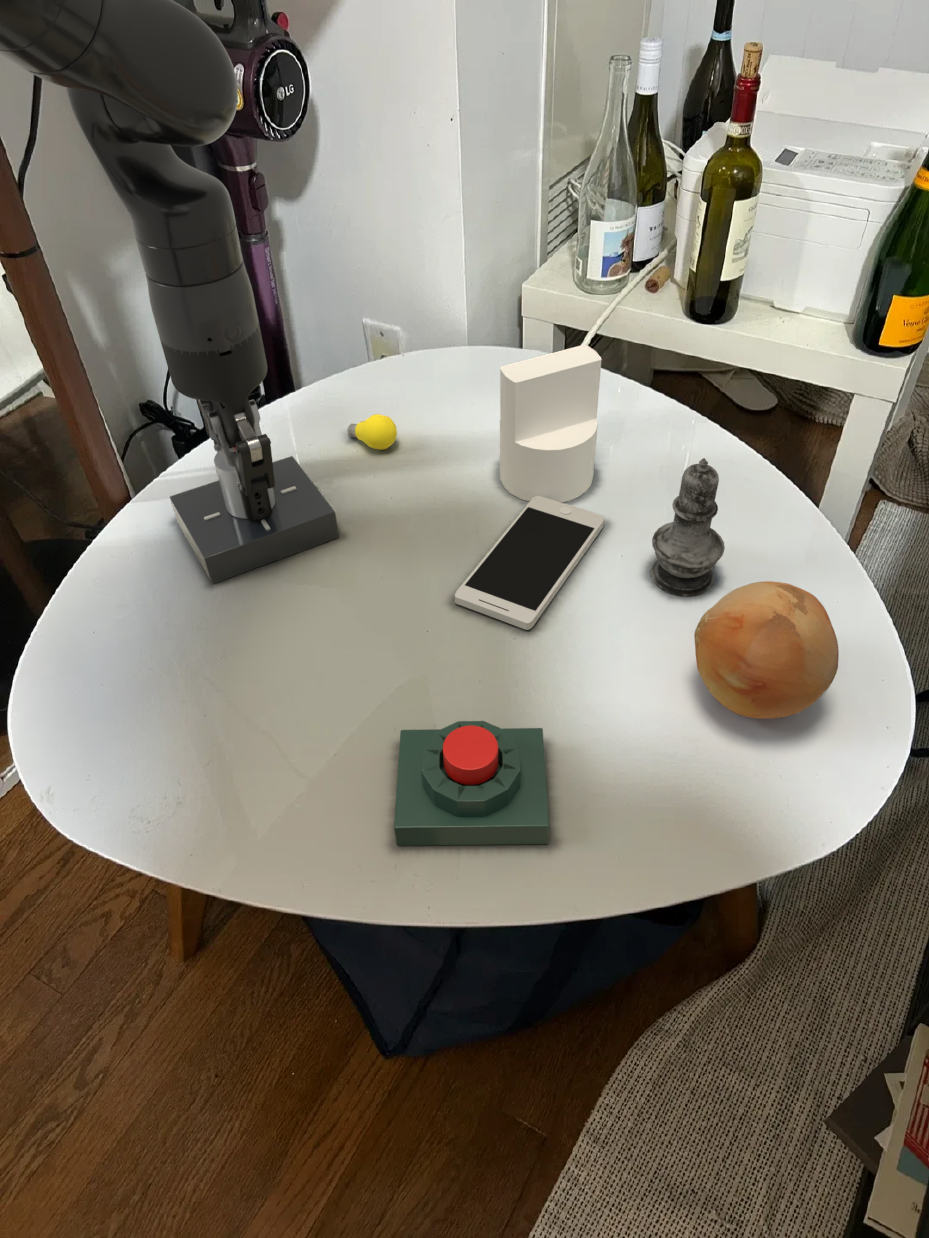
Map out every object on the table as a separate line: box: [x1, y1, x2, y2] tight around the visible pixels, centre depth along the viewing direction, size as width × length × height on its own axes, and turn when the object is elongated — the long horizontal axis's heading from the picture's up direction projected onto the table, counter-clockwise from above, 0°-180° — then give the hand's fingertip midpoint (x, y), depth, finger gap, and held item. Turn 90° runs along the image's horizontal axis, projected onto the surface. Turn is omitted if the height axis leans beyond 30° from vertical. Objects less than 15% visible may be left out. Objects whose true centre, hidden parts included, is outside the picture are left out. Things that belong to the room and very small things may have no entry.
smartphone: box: [454, 495, 606, 631], centre depth 80 cm, size 7×15×1 cm, turn 151°
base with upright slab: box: [499, 344, 603, 503], centre depth 85 cm, size 9×9×12 cm
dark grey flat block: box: [169, 455, 340, 585], centre depth 83 cm, size 12×10×3 cm
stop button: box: [443, 726, 498, 785], centre depth 60 cm, size 4×4×2 cm
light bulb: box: [346, 413, 398, 451], centre depth 93 cm, size 3×6×4 cm, turn 57°
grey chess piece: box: [650, 457, 726, 597], centre depth 74 cm, size 6×6×12 cm
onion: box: [693, 580, 840, 720], centre depth 66 cm, size 10×10×10 cm
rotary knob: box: [213, 447, 276, 519], centre depth 80 cm, size 4×4×5 cm
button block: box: [393, 720, 550, 847], centre depth 62 cm, size 10×8×4 cm
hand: (250, 501), depth 82 cm, fingers closed on rotary knob, 4 cm apart
